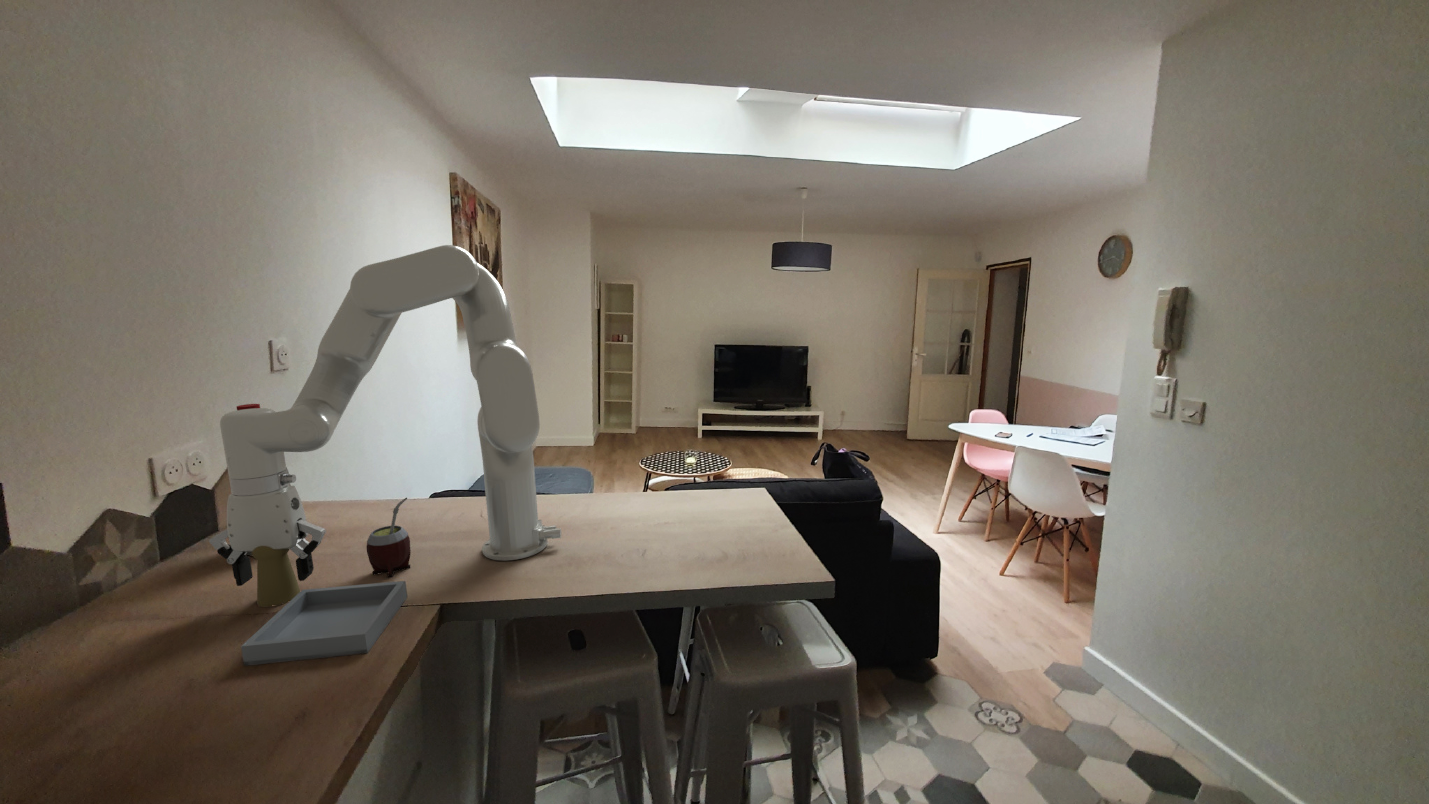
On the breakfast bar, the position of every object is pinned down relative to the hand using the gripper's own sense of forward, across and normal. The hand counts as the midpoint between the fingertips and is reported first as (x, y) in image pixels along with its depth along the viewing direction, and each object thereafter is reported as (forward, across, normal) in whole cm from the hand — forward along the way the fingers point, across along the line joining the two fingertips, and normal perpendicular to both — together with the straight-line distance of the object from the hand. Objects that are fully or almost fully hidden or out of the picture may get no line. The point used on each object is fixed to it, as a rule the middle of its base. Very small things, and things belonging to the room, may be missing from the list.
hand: (275, 579), depth 98 cm
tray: (+3, -14, +12) cm, 19 cm away
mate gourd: (+4, -16, -7) cm, 18 cm away
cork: (+4, 0, 0) cm, 4 cm away
